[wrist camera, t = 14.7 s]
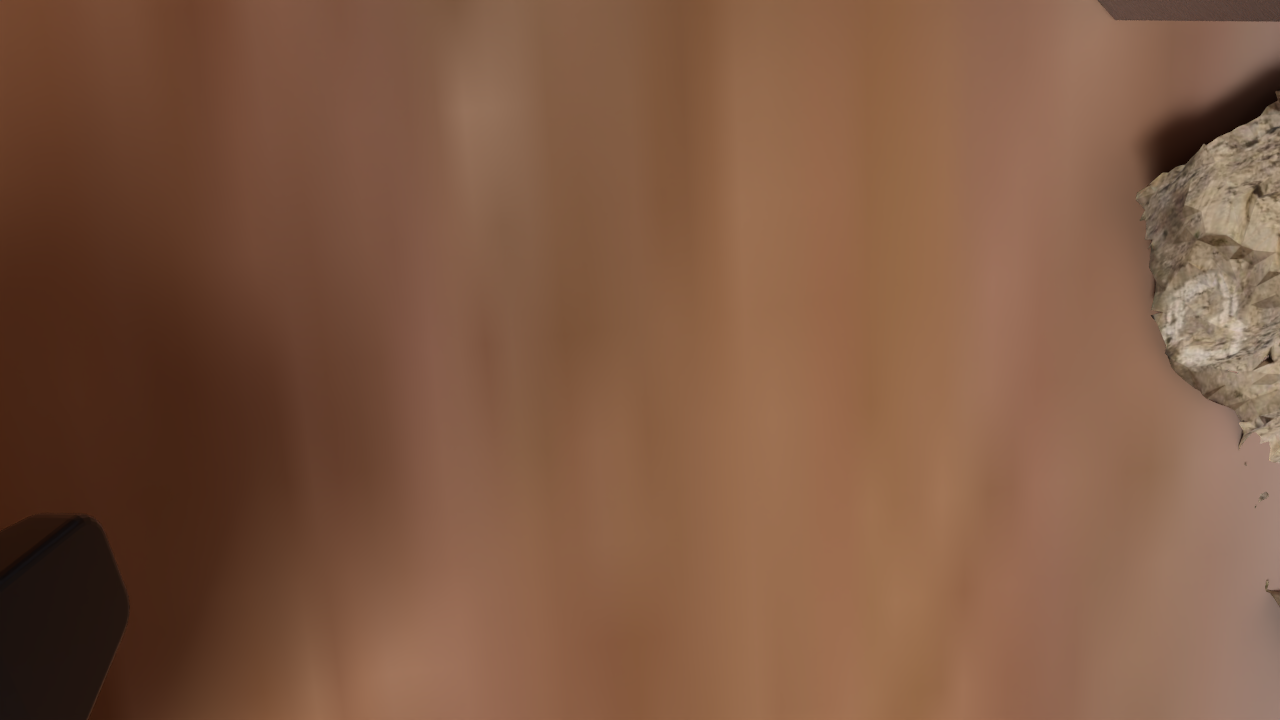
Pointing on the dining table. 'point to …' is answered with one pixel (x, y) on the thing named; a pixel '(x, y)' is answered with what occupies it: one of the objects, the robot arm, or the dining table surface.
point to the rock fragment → (1223, 272)
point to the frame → (1194, 10)
